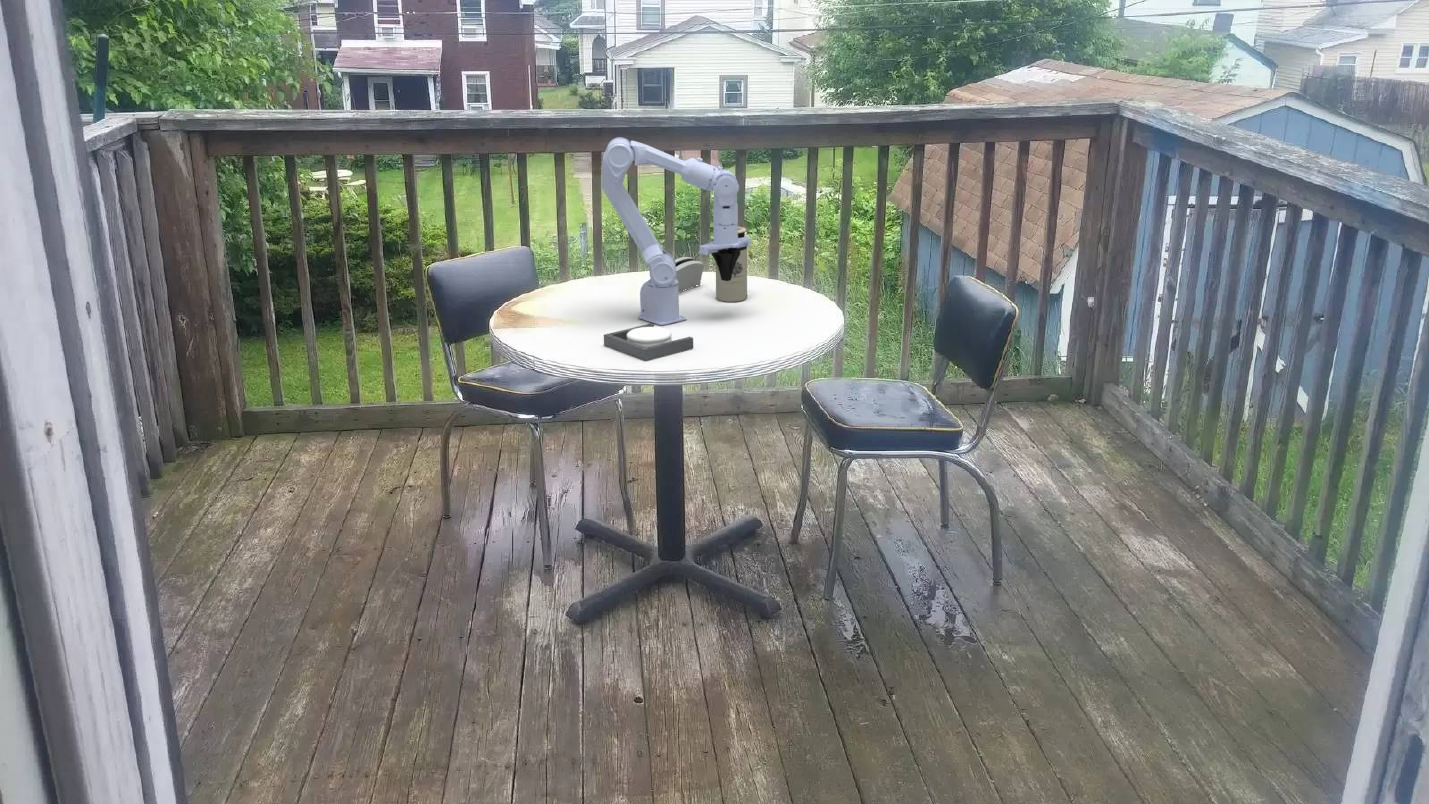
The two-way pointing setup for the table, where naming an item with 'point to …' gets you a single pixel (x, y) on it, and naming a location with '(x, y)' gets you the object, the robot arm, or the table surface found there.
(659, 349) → the frame
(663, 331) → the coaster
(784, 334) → the table surface
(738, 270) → the travel mug
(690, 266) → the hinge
